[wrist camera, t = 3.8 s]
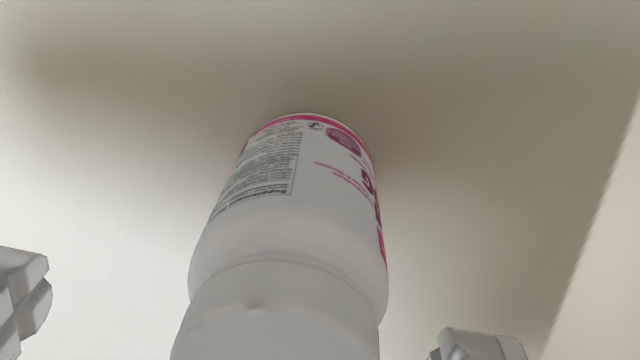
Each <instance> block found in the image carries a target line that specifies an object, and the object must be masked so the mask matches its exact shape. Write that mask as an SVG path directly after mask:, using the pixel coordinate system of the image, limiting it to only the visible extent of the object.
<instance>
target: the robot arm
mask: <svg viewBox="0 0 640 360" xmlns="http://www.w3.org/2000/svg"><path fill="white" fill-rule="evenodd" d="M48 271H49V265H48V259H47V256H44V255H42V254H38V253H34V252H29V251H24V250H19V249H14V248H9V247H4V246H0V360H16V359H17V358H18V357H19V355H20V354H21V343H20V342H21V341H22V340H24V339H26V338H28V337H30V336H32V335H34V334H36V333H37V331H38V330H39V328H40V327H41V326H42V324H43V323H44V322H45V320H46V317H47V315H48V313H49V310H50V308H51V304H52V297H53V294H52V286H51V285H50V284H49V283H48V282H47V281H46V279H45V278H44V277H43V276H44V275H45V274H46V273H47V272H48ZM437 339H438V343H439V348H437V349H435V350H434V351H432V352H430V354H429V356H428V358H427V360H528V358H527V355H526V353H525V351H524V349H523V347H522V345H521V343H520V342H519V341H518V340H517V339H516V338H511V337H505V336H499V335H491V334H487V333H481V332H475V331H470V330H464V329H458V328H452V327H445V328H444V329H443V330H442V331H441V332H440V334H439V336H438V338H437Z"/></svg>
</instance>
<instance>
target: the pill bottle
mask: <svg viewBox="0 0 640 360" xmlns="http://www.w3.org/2000/svg"><path fill="white" fill-rule="evenodd" d="M188 293H189V298H190V304H189V307H188V309H187V311H186V314H185V316H184V319H183V321H182V324H181V327H180V329H179V332H178V334H177V337H176V339H175V342H174V344H173V347H172V350H171V355H170V360H380V357H379V331H378V326H379V324H380V323H381V321H382V319H383V316H384V314H385V311H386V308H387V303H388V295H389V280H388V271H387V263H386V256H385V248H384V242H383V234H382V225H381V220H380V211H379V205H378V199H377V190H376V183H375V174H374V168H373V164H372V160H371V157H370V155H369V152H368V150H367V148H366V146H365V145H364V143H363V142H362V140H361V139H360V138H359V137H358V136H357V134H356V133H355V132H353V131H352V130H351V129H350V128H349V127H347V126H346V125H344V124H343V123H341V122H339V121H337V120H335V119H333V118H331V117H328V116H324V115H321V114H316V113H294V114H289V115H285V116H281V117H278V118H275V119H273V120H271V121H269V122H267V123H266V124H264V125H263V126H261V127H260V128H259V129H258V130H256V131H255V132H254V133H253V135H252V136H251V137H250V138H249V140H248V141H247V142H246V144H245V145H244V147H243V149H242V151H241V153H240V155H239V157H238V159H237V161H236V163H235V165H234V167H233V169H232V171H231V173H230V175H229V177H228V180H227V182H226V184H225V186H224V188H223V190H222V192H221V194H220V197H219V199H218V201H217V203H216V205H215V207H214V209H213V211H212V213H211V215H210V218H209V220H208V222H207V224H206V226H205V228H204V230H203V232H202V235H201V237H200V239H199V241H198V243H197V245H196V248H195V250H194V253H193V256H192V259H191V262H190V266H189V272H188Z"/></svg>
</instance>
